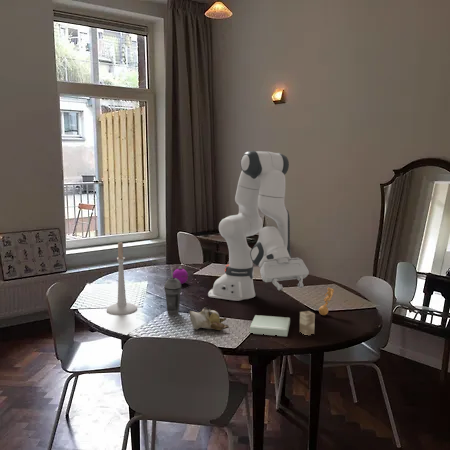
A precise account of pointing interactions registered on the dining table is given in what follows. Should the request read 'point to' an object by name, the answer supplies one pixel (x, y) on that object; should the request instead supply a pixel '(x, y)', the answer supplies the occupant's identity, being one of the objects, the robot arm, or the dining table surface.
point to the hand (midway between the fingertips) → (291, 288)
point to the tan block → (307, 322)
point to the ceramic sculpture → (207, 320)
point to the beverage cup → (173, 295)
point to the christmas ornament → (180, 275)
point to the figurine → (323, 309)
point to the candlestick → (121, 290)
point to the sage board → (270, 325)
